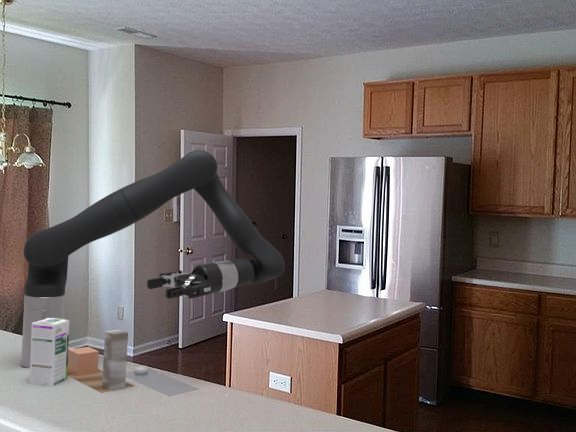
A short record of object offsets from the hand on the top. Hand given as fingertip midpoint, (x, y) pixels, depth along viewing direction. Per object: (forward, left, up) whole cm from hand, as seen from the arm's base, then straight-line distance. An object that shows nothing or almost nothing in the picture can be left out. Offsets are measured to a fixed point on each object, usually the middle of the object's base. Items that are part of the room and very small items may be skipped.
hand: (156, 289), depth 135 cm
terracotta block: (-14, -10, -21) cm, 27 cm away
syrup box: (-12, -19, -22) cm, 31 cm away
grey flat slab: (+2, 0, -22) cm, 22 cm away
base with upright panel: (-8, -10, -22) cm, 25 cm away
